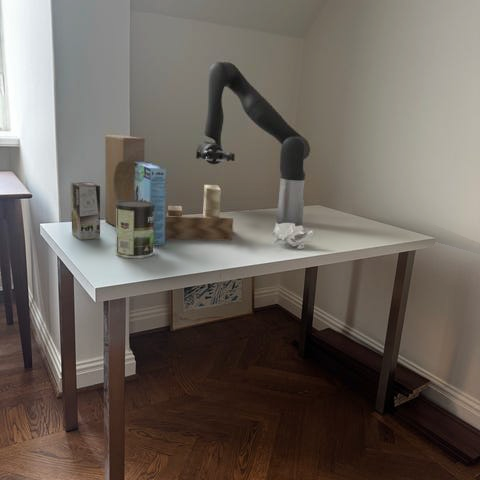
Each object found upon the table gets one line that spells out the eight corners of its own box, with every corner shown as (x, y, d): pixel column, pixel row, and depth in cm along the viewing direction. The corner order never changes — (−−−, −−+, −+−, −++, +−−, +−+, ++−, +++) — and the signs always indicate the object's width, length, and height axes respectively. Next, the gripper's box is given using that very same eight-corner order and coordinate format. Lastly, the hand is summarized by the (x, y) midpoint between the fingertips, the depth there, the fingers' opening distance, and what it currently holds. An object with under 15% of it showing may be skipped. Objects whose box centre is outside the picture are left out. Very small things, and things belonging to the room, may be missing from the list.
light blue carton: (164, 245, 140) (167, 168, 134) (148, 246, 138) (149, 168, 132) (148, 230, 157) (149, 161, 151) (133, 230, 154) (134, 161, 149)
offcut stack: (181, 230, 160) (182, 205, 158) (181, 237, 151) (182, 211, 149) (166, 229, 159) (167, 204, 157) (166, 236, 150) (167, 210, 148)
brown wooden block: (226, 229, 165) (227, 210, 163) (231, 240, 151) (233, 218, 149) (160, 227, 161) (161, 207, 159) (159, 238, 147) (160, 216, 146)
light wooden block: (215, 231, 162) (217, 185, 158) (218, 238, 153) (220, 189, 149) (202, 230, 161) (204, 184, 157) (204, 237, 152) (206, 188, 148)
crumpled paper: (266, 225, 149) (295, 216, 155) (265, 243, 152) (293, 234, 158) (289, 240, 140) (319, 230, 146) (288, 259, 144) (317, 249, 149)
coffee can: (155, 249, 135) (156, 201, 131) (151, 259, 125) (152, 207, 122) (118, 247, 134) (119, 199, 130) (112, 257, 124) (112, 205, 121)
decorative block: (105, 221, 164) (104, 134, 157) (125, 220, 169) (125, 135, 162) (122, 231, 153) (123, 137, 146) (143, 229, 158) (145, 138, 150)
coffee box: (101, 238, 142) (100, 185, 138) (79, 240, 139) (78, 186, 135) (91, 231, 150) (91, 181, 146) (71, 233, 146) (70, 181, 142)
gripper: (195, 142, 181) (197, 145, 165) (231, 145, 183) (237, 148, 167) (194, 162, 182) (196, 166, 167) (230, 164, 185) (235, 169, 169)
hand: (216, 157), depth 167 cm, fingers open, 8 cm apart
